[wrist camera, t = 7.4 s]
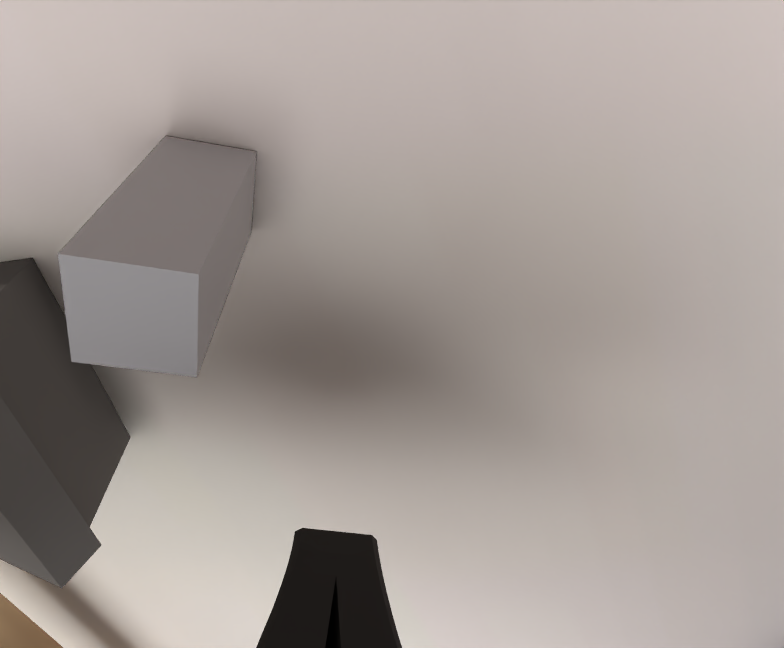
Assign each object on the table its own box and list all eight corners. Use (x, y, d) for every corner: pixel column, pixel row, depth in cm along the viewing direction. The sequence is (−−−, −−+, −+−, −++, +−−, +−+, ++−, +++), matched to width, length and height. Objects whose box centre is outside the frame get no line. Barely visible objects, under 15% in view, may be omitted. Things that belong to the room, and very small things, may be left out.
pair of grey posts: (256, 152, 11) (199, 273, 7) (215, 758, 25) (188, 908, 21) (165, 135, 11) (57, 253, 7) (175, 756, 25) (140, 906, 21)
